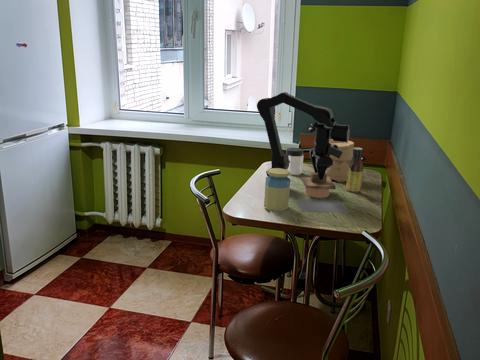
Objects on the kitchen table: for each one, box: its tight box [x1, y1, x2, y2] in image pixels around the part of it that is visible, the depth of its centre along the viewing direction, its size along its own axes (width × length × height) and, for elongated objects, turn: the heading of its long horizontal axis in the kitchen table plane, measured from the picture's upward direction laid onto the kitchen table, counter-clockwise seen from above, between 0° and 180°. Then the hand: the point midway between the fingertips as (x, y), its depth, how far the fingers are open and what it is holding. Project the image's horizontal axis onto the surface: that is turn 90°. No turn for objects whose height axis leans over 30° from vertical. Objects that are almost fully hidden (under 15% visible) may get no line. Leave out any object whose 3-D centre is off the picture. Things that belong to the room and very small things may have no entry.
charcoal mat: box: [296, 198, 350, 214], centre depth 172 cm, size 18×14×1 cm
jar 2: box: [285, 147, 304, 176], centre depth 218 cm, size 9×8×12 cm
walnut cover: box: [300, 171, 337, 190], centre depth 184 cm, size 12×12×5 cm
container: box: [325, 138, 355, 183], centre depth 211 cm, size 13×13×18 cm
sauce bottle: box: [345, 147, 364, 194], centre depth 190 cm, size 6×6×20 cm
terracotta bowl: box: [304, 186, 331, 199], centre depth 186 cm, size 10×10×5 cm
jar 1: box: [263, 167, 291, 212], centre depth 166 cm, size 9×9×15 cm
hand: (318, 176), depth 184 cm, fingers open, 9 cm apart
